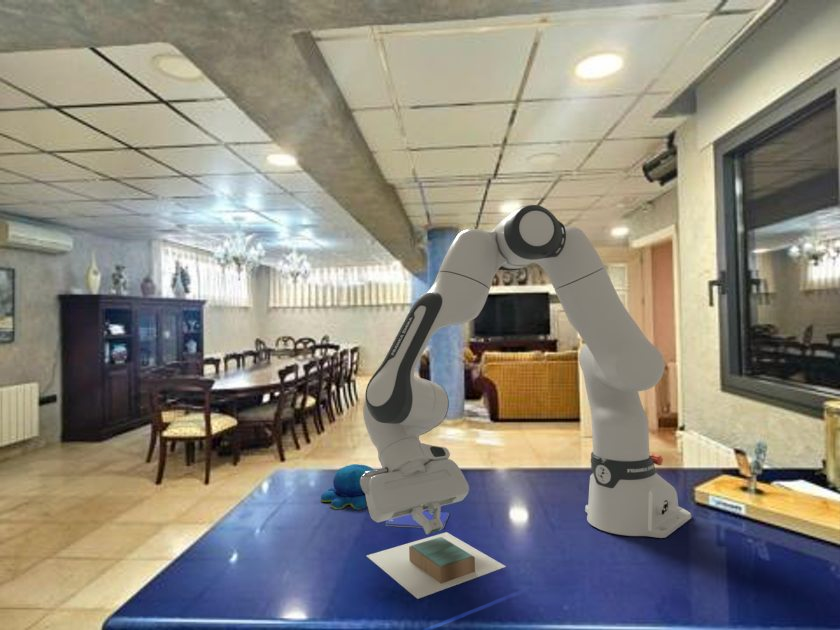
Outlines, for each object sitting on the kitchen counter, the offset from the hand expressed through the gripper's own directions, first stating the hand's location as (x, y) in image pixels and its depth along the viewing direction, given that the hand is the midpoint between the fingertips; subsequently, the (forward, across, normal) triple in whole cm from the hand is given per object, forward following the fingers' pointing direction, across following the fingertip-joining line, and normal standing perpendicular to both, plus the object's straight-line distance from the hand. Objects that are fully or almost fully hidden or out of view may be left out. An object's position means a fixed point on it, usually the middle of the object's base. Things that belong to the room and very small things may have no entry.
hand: (435, 531), depth 91 cm
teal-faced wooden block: (+1, 0, +5) cm, 5 cm away
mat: (+4, 0, +5) cm, 6 cm away
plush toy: (-25, +4, +34) cm, 42 cm away
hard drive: (-8, +8, +18) cm, 21 cm away
